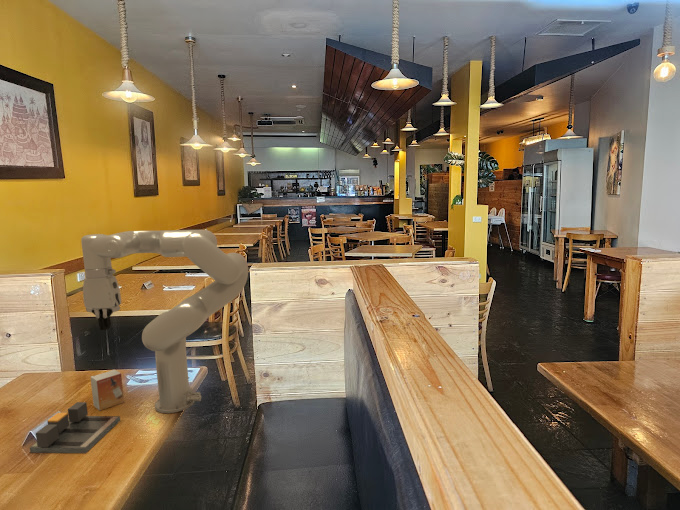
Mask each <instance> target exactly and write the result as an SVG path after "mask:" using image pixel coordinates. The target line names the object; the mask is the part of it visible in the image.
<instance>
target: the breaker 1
mask: <svg viewBox="0 0 680 510" xmlns="http://www.w3.org/2000/svg"><path fill="white" fill-rule="evenodd" d="M35 438H36V442H37V446H38V447H49V446H50V445H51V444H52V443H53V442H55V441H56V440H57V439H58V438H59V433H58V426H57V425H53V424H48V423H47V424H46V425H44V426H43V427H42V428H40V429H39V430H38V431H36V432H35Z"/></svg>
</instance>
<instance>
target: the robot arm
mask: <svg viewBox="0 0 680 510" xmlns="http://www.w3.org/2000/svg"><path fill="white" fill-rule="evenodd" d="M81 250H82V258H83V265H84V274H85V278H84V279H83V285H82V289H83V290H82V291H83V292H82V294H83V296H82V297H83V298H82V299H83V304H84V307H85V312H88V313H92V314H93V315H94V316H95V318H96V319H97V321H98V327H99V330H100V331H107V330H108V329H110V328H111V325H112V323H111V316H112V315H113V313H116V312H118V311H121V307H120V305H121V304H122V295H121V291H120V286H119V283H118V280H117V277H116V276H115V275H114V274H116V269H113V267H112V259H121V258H123V257H127V256H128V255H132V254H159V255H161V256H163V257H164V258H185V257H187V258H188V260H189V261H191V262H192V263H193V264H194V265H195V266H197V267H198V268H199V269H200V270H201V271H203V273H205V274H206V275H208V276H209V277H210V278H212V279H213V280H214V281H212V282H211V283H210V284H208V285H206V286H205V287H204V288H202V289H201V290H199V291H198V292H195V293H194V294H191V295H190V296H188V297H187V298H185V299H183V300H182V301H181V302H180V303H178V304H177V305H176V306H174V307H173V308H171V309H169V310H167V311H164V312H162V313H160V314H159V315H157V316H156V317H155V318H154V319H152V320H151V321H150V322H149V323H148V324H146V326H145V327H144V329H143V330H142V333H141V341H142V343H143V345H144V347H145V348H146V349H148V350H150V351H152V352H154V355H155V357H154V358H155V369H156V379H157V387H158V390H157V391H158V398H159V399H157V400H156V401H155V403H154V409H155V411H157V412H158V413H162V414H174V413H178V412H182V411H185V410H187V409H189V408H191V407H192V406H193V405H194V404H195V402H201V401H202V395H201V392H200V391H198V392H194V391H193V387H190V382H189V381H190V379H189V370H188V359H187V357H188V356H187V337H189V336H190V335H192V334H193V333H195V332H196V331H197V330H198V329H199V328H201V326H202V325H203V324H204V323H205V322H206V321H207V320H208V319H209V318H210V317H211V316H212V315H214V314H215V313H216V312H218V311H219V310H221V309H222V308H224V307H225V306H226V305H228V304H229V303H231V302H232V301H234V300H235V299H236V298H237V297H238V296H239V295H240V294H241V292H242V291H243V290H244V288H245V286H246V283H247V281H248V277H249V266H248V262H247V259H246V257H244V256H243V255H242V254H241V253H238V252H229V253H228V252H227V253H226V252H224V251H223V250H222V249H220V247H218V239H217V237H216V235H215V234H214V233H213V232H212V231H210V230H208V229H176V230H173V229H172V230H171V229H170V230H169V229H168V230H167V229H166V230H164V229H163V230H162V229H161V230H128V231H121V232H117V233H112V234H104V233H103V234H102V233H93V234H92V233H91V234H86V235H83V236H82V237H81Z"/></svg>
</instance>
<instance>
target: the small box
mask: <svg viewBox="0 0 680 510" xmlns="http://www.w3.org/2000/svg"><path fill="white" fill-rule="evenodd" d="M122 378H123V377H122V373H121V372H120V371H118V370H116V369H112V370H109V371H107V372H101V373H99V374H96V375H92V376H90V384H91V385H90V386H91V394H92V403H93V407H95V408H96V409H97V410H98V411H99V412H100V411H103V410H106V409H108V408H111V407H114V406H117V405H120V404H123V403H124V402H125V397H124V387H123V379H122Z"/></svg>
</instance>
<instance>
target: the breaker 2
mask: <svg viewBox="0 0 680 510" xmlns="http://www.w3.org/2000/svg"><path fill="white" fill-rule="evenodd" d="M67 413H68V418H69V422H79V421H80V420H82V419H83V418H84V417H85V416H89V412H88V405H87V402H86V401H81V402H80V401H79V402H78V401H77V402H75V403H74V404H73V405H72V406H69V408H67Z"/></svg>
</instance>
